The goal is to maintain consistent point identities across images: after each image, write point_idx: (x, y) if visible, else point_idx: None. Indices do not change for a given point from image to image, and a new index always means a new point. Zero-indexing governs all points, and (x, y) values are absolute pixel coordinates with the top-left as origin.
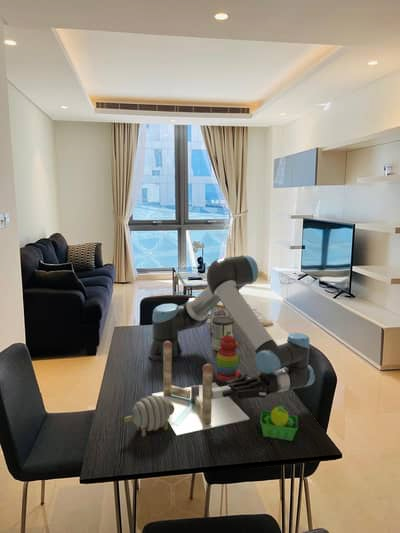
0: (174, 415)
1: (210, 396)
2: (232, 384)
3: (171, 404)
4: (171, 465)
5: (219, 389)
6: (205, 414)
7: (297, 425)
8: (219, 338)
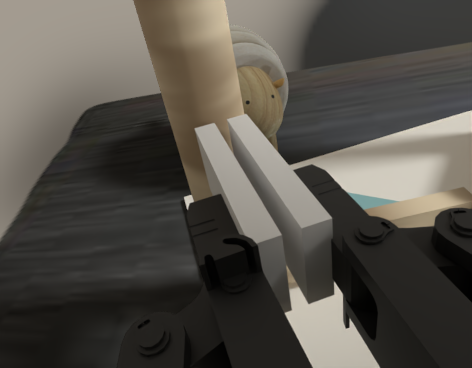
0: None
1: (180, 146)
2: (394, 272)
3: (241, 96)
4: (39, 204)
5: (226, 156)
6: None
7: None
8: None
